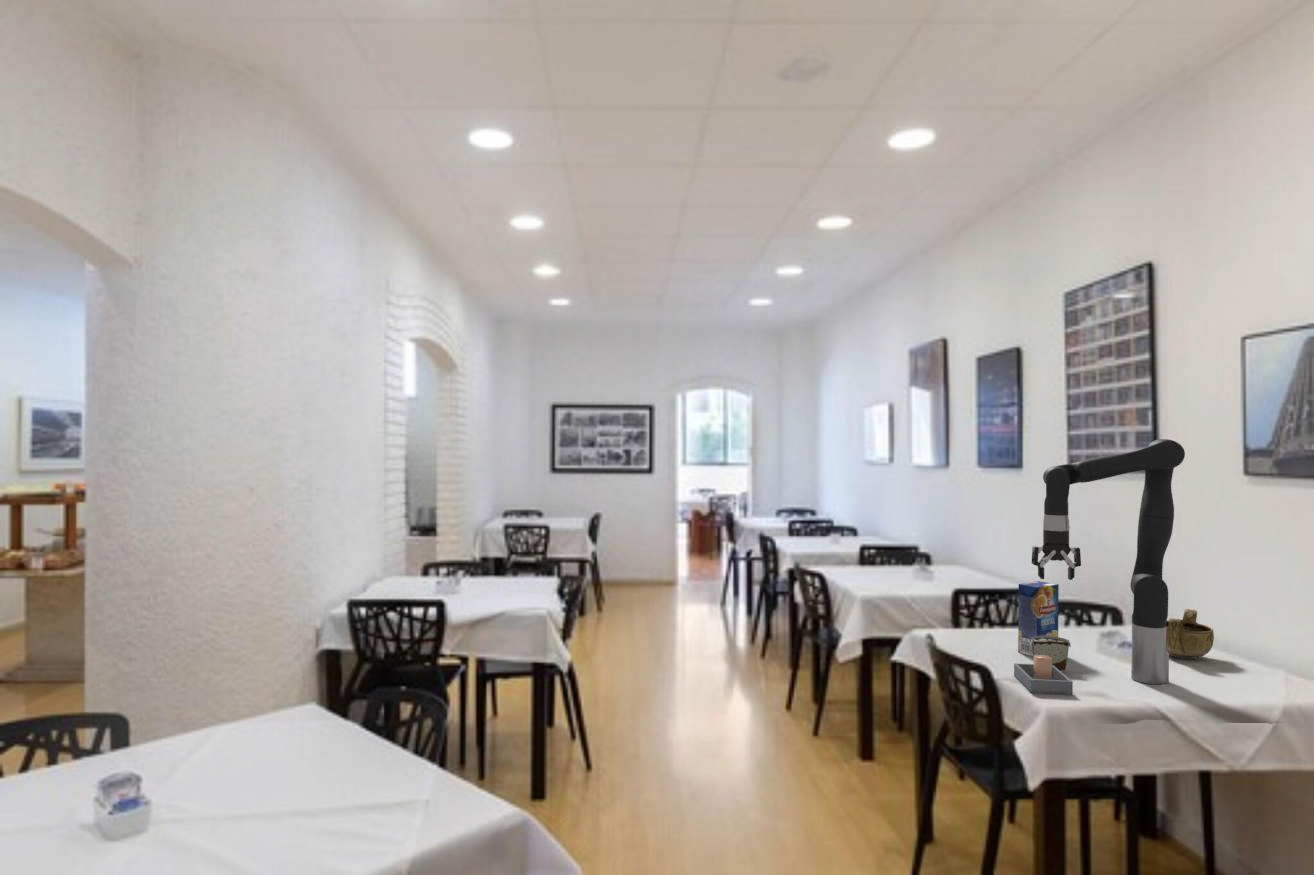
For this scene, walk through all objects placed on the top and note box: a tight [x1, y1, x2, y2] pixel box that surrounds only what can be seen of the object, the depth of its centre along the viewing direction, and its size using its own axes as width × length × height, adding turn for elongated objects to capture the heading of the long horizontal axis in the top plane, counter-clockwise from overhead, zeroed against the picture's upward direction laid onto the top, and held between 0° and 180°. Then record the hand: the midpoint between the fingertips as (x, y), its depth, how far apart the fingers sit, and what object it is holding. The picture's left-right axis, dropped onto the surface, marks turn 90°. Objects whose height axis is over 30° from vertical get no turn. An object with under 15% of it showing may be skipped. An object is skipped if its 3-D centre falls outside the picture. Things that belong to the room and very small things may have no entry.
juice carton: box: [1017, 580, 1060, 657], centre depth 286 cm, size 12×8×24 cm, turn 121°
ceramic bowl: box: [1166, 608, 1215, 660], centre depth 281 cm, size 22×17×15 cm
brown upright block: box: [1033, 655, 1052, 680], centre depth 248 cm, size 5×5×8 cm
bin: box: [1013, 662, 1074, 696], centre depth 248 cm, size 12×18×4 cm, turn 171°
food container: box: [1030, 636, 1072, 672], centre depth 267 cm, size 12×6×10 cm, turn 84°
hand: (1056, 579), depth 262 cm, fingers open, 8 cm apart
